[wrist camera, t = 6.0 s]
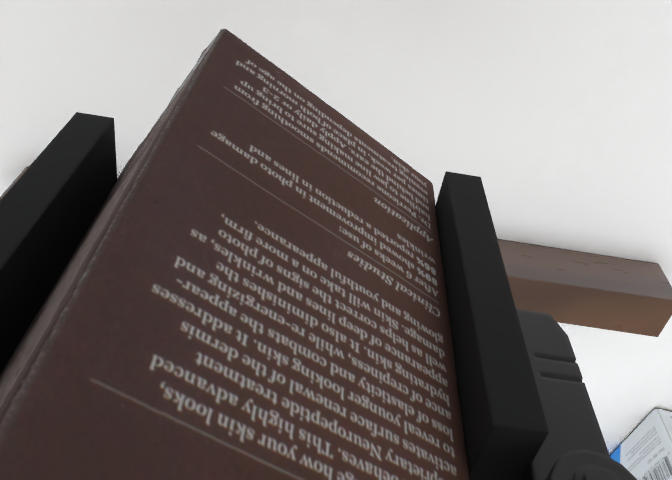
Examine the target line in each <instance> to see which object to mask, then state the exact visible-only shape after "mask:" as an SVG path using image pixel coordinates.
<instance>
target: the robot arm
mask: <svg viewBox="0 0 672 480" xmlns="http://www.w3.org/2000/svg"><path fill="white" fill-rule="evenodd" d="M116 181H117V169H116V150H115V131H114V118H109V117H103V116H97V115H91V114H84V113H78V112H77V113H76V114H75V115H74V116H73V117H72V118H71V120H70V121H69V122H68V123H67V124H66V125H65V126H64V128H63V129H62V130H61V131H60V132H59V133H58V134H57V136H56V137H55V138H54V139H53V140H52V141H51V143H50V144H49V145H48V146H47V147H46V148H45V149H44V151H43V152H42V153H41V154H40V155H39V156H38V157H37V159H36V160H35V161H34V162H33V163H32V164H31V166H30V167H29V168H28V169H27V170H26V171H25V172H24V174H23V175H22V176H21V177H20V178H19V179H18V180H17V182H16V183H15V184H14V185H13V186H12V187H11V189H10V190H9V191H8V192H7V193H6V194H5V195H4V197H3V198H2V199H1V200H0V374H1V372H2V370H3V369H4V367H5V365H6V364H7V362H8V360H9V359H10V357H11V355H12V354H13V352H14V350H15V349H16V347H17V345H18V344H19V342H20V340H21V338H22V337H23V335H24V333H25V332H26V330H27V328H28V327H29V325H30V324H31V322H32V321H33V319H34V318H35V316H36V315H37V313H38V311H39V310H40V308H41V306H42V305H43V303H44V302H45V300H46V298H47V297H48V295H49V293H50V292H51V290H52V289H53V287H54V285H55V284H56V282H57V280H58V279H59V277H60V275H61V274H62V272H63V270H64V269H65V267H66V265H67V264H68V262H69V260H70V259H71V257H72V255H73V253H74V252H75V250H76V248H77V246H78V245H79V243H80V242H81V240H82V238H83V237H84V235H85V233H86V232H87V230H88V228H89V227H90V225H91V223H92V222H93V220H94V218H95V216H96V215H97V213H98V212H99V210H100V209H101V207H102V205H103V204H104V202H105V200H106V199H107V197H108V195H109V193H110V191H111V189H112V187H113V186H114V184H115V183H116ZM435 207H436V216H437V223H438V232H439V240H440V248H441V256H442V264H443V270H444V279H445V289H446V295H447V304H448V311H449V319H450V327H451V334H452V342H453V350H454V357H455V370H456V375H457V388H458V396H459V401H460V409H461V417H462V422H463V428H464V439H465V449H466V453H467V461H468V471H469V479H470V480H637V479H636V478H635V477H634V476H633V475H632V474H631V473H630V472H629V471H628V470H627V469H626V468H625V467H624V466H623V465H622V464H620V463H618V462H617V461H615V460H613V459H612V458H611V457H610V455H609V453H608V450H607V447H606V444H605V441H604V438H603V435H602V433H601V430H600V427H599V424H598V421H597V418H596V415H595V412H594V410H593V407H592V404H591V401H590V398H589V395H588V392H587V389H586V387H585V384H584V383H582V375H581V372H580V369H579V366H578V364H577V363H575V360H576V358H575V355H574V352H573V349H572V346H571V343H570V341H569V338H568V335H567V334H566V333H565V332H564V331H563V329H562V328H561V327H560V326H559V325H558V323H557V322H556V321H555V320H554V319H553V317H552V316H551V315H550V314H546V313H540V312H533V311H526V310H520V309H516V307H515V303H514V300H513V296H512V292H511V288H510V285H509V281H508V277H507V274H506V270H505V266H504V262H503V259H502V255H501V251H500V248H499V244H498V240H497V236H496V233H495V229H494V225H493V221H492V218H491V214H490V210H489V207H488V203H487V199H486V195H485V192H484V188H483V184H482V181H481V177H477V176H471V175H465V174H458V173H452V172H446V173H445V176H444V179H443V183H442V186H441V189H440V193H439V196H438V200H437V203H436V206H435Z"/></svg>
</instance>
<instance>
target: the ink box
mask: <svg viewBox="0 0 672 480" xmlns="http://www.w3.org/2000/svg"><path fill="white" fill-rule="evenodd" d="M610 457H611V458H612V459H613V460H615V461H617V462H618V463H620V464H622V465H623V466H624V467H625V468H626V469H627V470H628V471H629V472H630V473H631V474H632V475H633V476H634V477H635V478H636V479H637V480H672V412H669V411H665V410H662V409H655V410H653V411H652V412H651V413H650V414H649V415H648V416H647V417H646V418H645V420H644V421H643V422H642V423H641V424H640V425H639V426H638V427H637V428H636V429H635V430H634V431H633V432H632V433H631V434H630V435H629V436H628V438H627V439H626V440H625V441H624V442H623V443H622V444H621V445H620V446H619V447H618V448H617V449H616V450H615V451H614V452H613V453H612V454H611V456H610Z"/></svg>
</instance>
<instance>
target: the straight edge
mask: <svg viewBox="0 0 672 480" xmlns="http://www.w3.org/2000/svg"><path fill="white" fill-rule="evenodd" d="M28 168H29V167H26V168H25V169H24V170H23V171H22V173H21V174H20V175H19V176H18V177H17V178H16V180H15V181H14V182H13V183H12V184H11V185H10V186H9V188H8V189H7V190H6V191H5V192H4V193H3V194H2V196H1V197H0V200H1V199H2V198H3V197H4V195H5V194H6V193H7V192H8V191H9V190H10V189H11V187H12V186H13V185H14V184H15V183H16V182H17V180H18V179H19V178H20V177H21V176H22V175H23V174H24V172H25V171H26V170H27V169H28ZM497 240H498V244H499V248H500V251H501V255H502V259H503V262H504V266H505V270H506V274H507V277H508V281H509V285H510V288H511V292H512V296H513V300H514V303H515V307H516V309H520V310H526V311H533V312H540V313H546V314H550V315H551V316H552V317H553V319H554V320H555V321H556V322H560V323H566V324H573V325H580V326H587V327H593V328H600V329H607V330H614V331H621V332H627V333H634V334H641V335H648V336H654V337H658V336H659V334H660V333H661V331H662V330H663V328H664V326H665V325H666V323H667V322H668V320H669V319H670V317H671V315H672V286H671V285H670V283H669V281H668V280H667V278H666V276H665V274H664V273H663V271H662V269H661V267H660V266H659V264H654V263H648V262H642V261H635V260H629V259H622V258H616V257H609V256H603V255H596V254H590V253H583V252H577V251H570V250H564V249H557V248H551V247H544V246H538V245H531V244H525V243H518V242H512V241H505V240H499V239H497Z"/></svg>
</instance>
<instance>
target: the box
mask: <svg viewBox="0 0 672 480" xmlns="http://www.w3.org/2000/svg"><path fill="white" fill-rule="evenodd" d="M0 480H470V479H469V471H468V461H467V453H466V449H465V439H464V428H463V422H462V417H461V409H460V401H459V396H458V388H457V375H456V370H455V357H454V350H453V342H452V334H451V327H450V319H449V311H448V304H447V295H446V289H445V279H444V270H443V264H442V256H441V248H440V240H439V232H438V223H437V216H436V207H435V199H434V191H433V185H432V183H431V182H430V181H429V180H428V179H426V178H425V177H424V176H422V175H421V174H420V173H418V172H417V171H415V170H414V169H413V168H412V167H411V166H409V165H408V164H407V163H405V162H404V161H403V160H401V159H400V158H399V157H397V156H396V155H395V154H393V153H392V152H391V151H389V150H388V149H387V148H385V147H384V146H383V145H381V144H380V143H379V142H377V141H376V140H375V139H373V138H372V137H371V136H369V135H368V134H367V133H365V132H364V131H363V130H361V129H360V128H359V127H357V126H356V125H355V124H353V123H352V122H351V121H349V120H348V119H347V118H345V117H344V116H343V115H342V114H340V113H339V112H338V111H336V110H335V109H333V108H332V107H331V106H329V105H328V104H326V103H325V102H324V101H323V100H321V99H320V98H319V97H317V96H316V95H315V94H313V93H312V92H310V91H309V90H308V89H306V88H305V87H304V86H302V85H301V84H300V83H299V82H297V81H296V80H295V79H293V78H292V77H291V76H289V75H288V74H286V73H285V72H284V71H282V70H281V69H280V68H278V67H277V66H276V65H274V64H273V63H271V62H270V61H269V60H267V59H266V58H265V57H263V56H262V55H260V54H259V53H258V52H256V51H255V50H254V49H252V48H251V47H250V46H248V45H247V44H246V43H244V42H243V41H242V40H240V39H239V38H238V37H236V36H235V35H234V34H232V33H231V32H229V31H228V30H227V29H221V30H220V32H219V33H218V35H217V36H216V37H215V38H214V40H213V41H212V42H211V43H210V45H209V46H208V47H207V48H206V49H205V50H204V51H203V52H202V54H201V56H200V58H199V60H198V61H197V63H196V65H195V67H194V68H193V69H192V71H191V72H190V73H189V75H188V76H187V78H186V79H185V81H184V82H183V83H182V85H181V86H180V87H179V88H178V90H177V91H176V93H175V95H174V96H173V98H172V100H171V102H170V103H169V105H168V107H167V108H166V109H165V111H164V112H163V113H162V115H161V116H160V118H159V119H158V121H157V122H156V123H155V125H154V126H153V128H152V129H151V131H150V133H149V134H148V135H147V137H146V138H145V139H144V141H143V142H142V143H141V144H140V145H139V147H138V148H137V150H136V151H135V153H134V154H133V156H132V157H131V159H130V160H129V161H128V162H127V164H126V166H125V168H124V169H123V171H122V173H121V174H120V176H119V178H118V179H117V181H116V183H115V184H114V186H113V187H112V189H111V191H110V193H109V195H108V197H107V199H106V200H105V202H104V204H103V205H102V207H101V209H100V210H99V212H98V213H97V215H96V216H95V218H94V220H93V222H92V223H91V225H90V227H89V228H88V230H87V232H86V233H85V235H84V237H83V238H82V240H81V242H80V243H79V245H78V246H77V248H76V250H75V252H74V253H73V255H72V257H71V259H70V260H69V262H68V264H67V265H66V267H65V269H64V270H63V272H62V274H61V275H60V277H59V279H58V280H57V282H56V284H55V285H54V287H53V289H52V290H51V292H50V293H49V295H48V297H47V298H46V300H45V302H44V303H43V305H42V306H41V308H40V310H39V311H38V313H37V315H36V316H35V318H34V319H33V321H32V322H31V324H30V325H29V327H28V328H27V330H26V332H25V333H24V335H23V337H22V338H21V340H20V342H19V344H18V345H17V347H16V349H15V350H14V352H13V354H12V355H11V357H10V359H9V360H8V362H7V364H6V365H5V367H4V369H3V370H2V372H1V374H0Z"/></svg>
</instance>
